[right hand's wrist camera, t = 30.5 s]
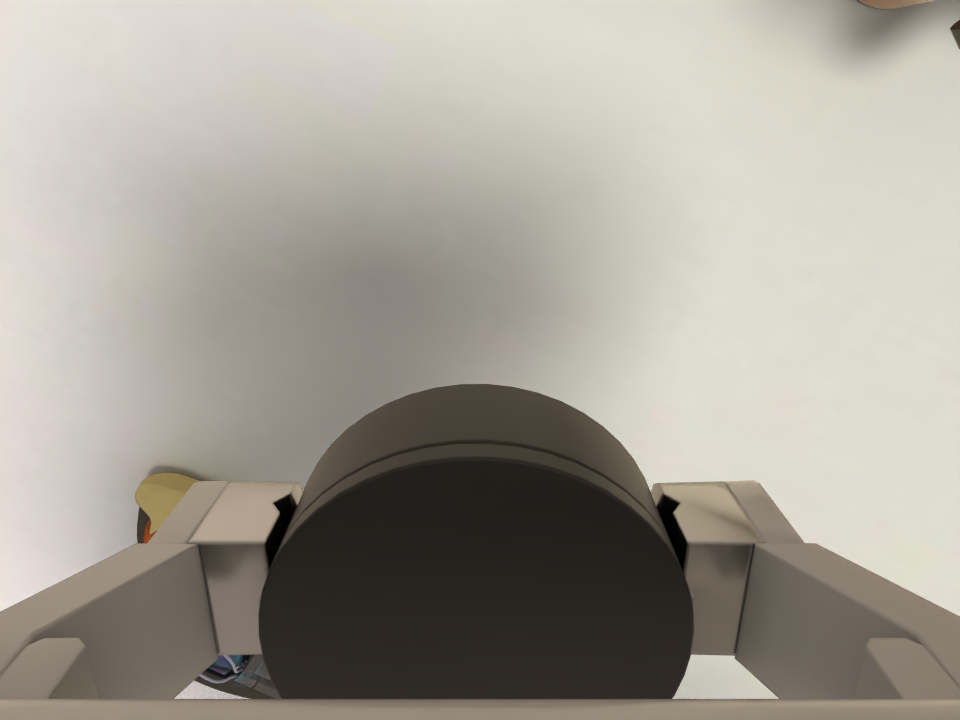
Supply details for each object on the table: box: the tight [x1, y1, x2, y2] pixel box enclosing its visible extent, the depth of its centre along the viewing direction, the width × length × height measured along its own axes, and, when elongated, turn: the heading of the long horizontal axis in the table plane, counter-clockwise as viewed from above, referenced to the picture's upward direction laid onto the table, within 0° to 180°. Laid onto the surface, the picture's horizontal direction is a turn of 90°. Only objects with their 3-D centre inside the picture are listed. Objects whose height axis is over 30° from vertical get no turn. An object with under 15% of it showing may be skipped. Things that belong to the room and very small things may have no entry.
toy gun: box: [135, 473, 281, 699], centre depth 34 cm, size 3×19×10 cm
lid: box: [258, 384, 694, 699], centre depth 9 cm, size 5×5×2 cm
